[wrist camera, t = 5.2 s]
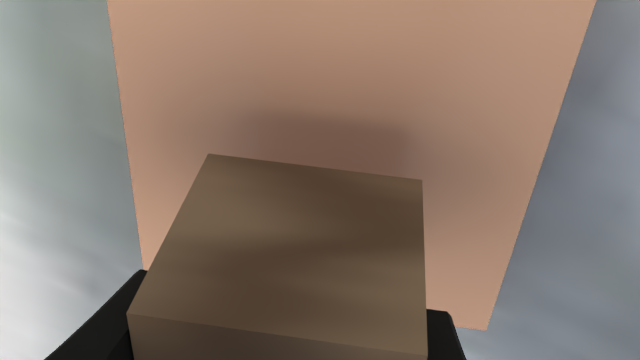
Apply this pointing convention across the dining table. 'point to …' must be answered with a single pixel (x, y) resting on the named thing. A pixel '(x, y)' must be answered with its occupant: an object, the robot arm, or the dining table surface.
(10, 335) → the dining table surface
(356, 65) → the tile
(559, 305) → the dining table surface
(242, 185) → the cube
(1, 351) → the dining table surface
